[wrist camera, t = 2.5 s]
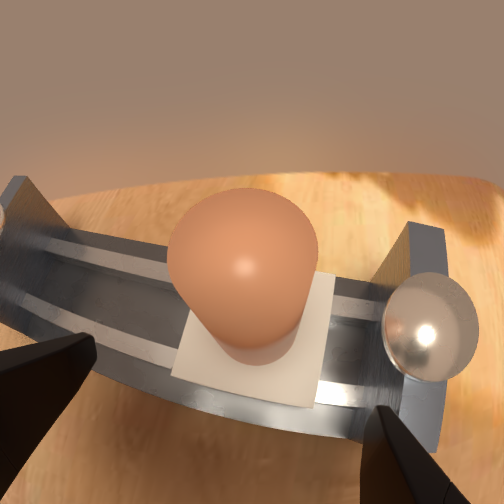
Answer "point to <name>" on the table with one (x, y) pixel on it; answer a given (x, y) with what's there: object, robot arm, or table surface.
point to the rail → (176, 311)
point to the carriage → (251, 297)
